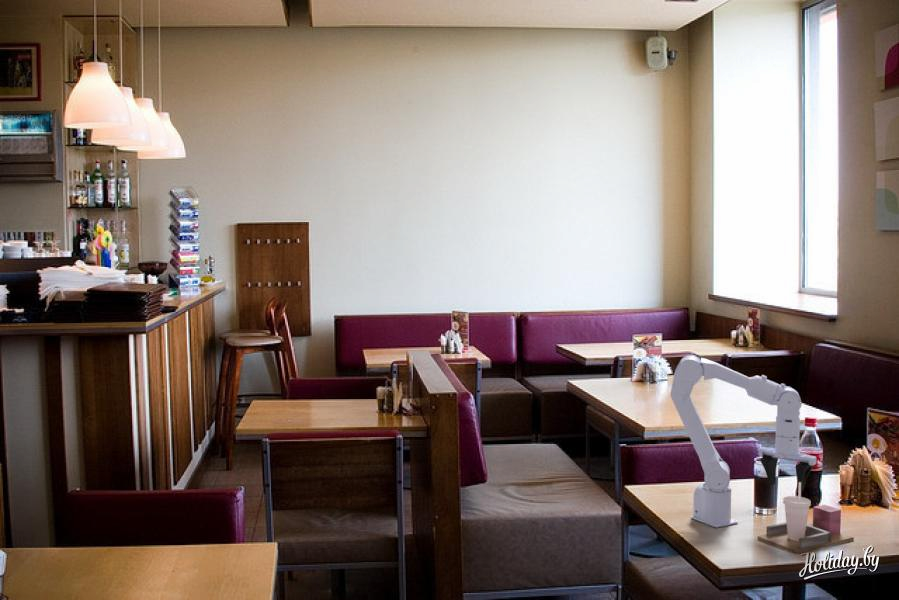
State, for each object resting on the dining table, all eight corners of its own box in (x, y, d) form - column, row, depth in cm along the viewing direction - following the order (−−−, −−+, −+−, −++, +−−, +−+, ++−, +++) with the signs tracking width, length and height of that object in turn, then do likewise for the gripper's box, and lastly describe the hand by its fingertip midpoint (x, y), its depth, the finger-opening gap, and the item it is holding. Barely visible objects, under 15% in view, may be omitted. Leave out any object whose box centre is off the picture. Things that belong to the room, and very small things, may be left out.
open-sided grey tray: (757, 539, 228) (758, 512, 227) (813, 526, 237) (814, 500, 237) (796, 554, 217) (797, 526, 217) (853, 540, 227) (854, 513, 226)
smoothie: (811, 543, 222) (813, 486, 221) (783, 541, 224) (785, 485, 223) (808, 535, 228) (809, 479, 227) (780, 533, 230) (782, 478, 229)
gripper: (753, 433, 237) (752, 485, 238) (807, 442, 227) (806, 496, 228) (766, 429, 242) (765, 479, 243) (820, 438, 232) (819, 491, 233)
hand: (786, 487), depth 236 cm, fingers open, 7 cm apart
